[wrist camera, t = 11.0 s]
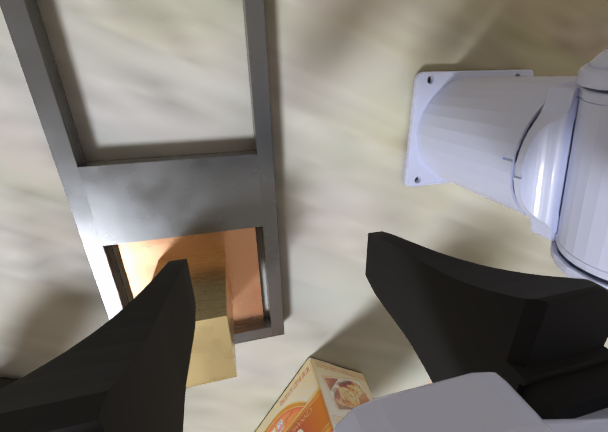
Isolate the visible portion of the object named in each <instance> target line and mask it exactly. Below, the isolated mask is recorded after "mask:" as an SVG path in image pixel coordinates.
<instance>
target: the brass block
mask: <svg viewBox="0 0 608 432" xmlns="http://www.w3.org/2000/svg"><path fill="white" fill-rule="evenodd" d="M180 259H187V262H188V267H189V272H190V277H191V282H192V287H193V292H194V297H195V302H196V321H195V333H194V339H193V346H192V352H191V358H190V364H189V370H188V376H187V382H186V388H188V387H193V386H197V385H201V384H206V383H210V382H215V381H219V380H224V379H228V378H233V377H237V374H236V356H235V338H234V320H233V302H232V295H231V288H230V281H229V274H228V268H227V261H226V254H225V251H219V252H212V253H204V254H197V255H190V256H183V257H176V258H169V259H162V260H158V262H157V265H156V268H155V271H154V274H153V277H152V279H153V278H154V277H155V276H156V275H157V274H158V273H159V272H160V271H161V269H162V268H163V267H164V266H165V265H166V264H167V263H168V262H169V261H173V260H180Z"/></svg>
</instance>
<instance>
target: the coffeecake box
mask: <svg viewBox="0 0 608 432" xmlns="http://www.w3.org/2000/svg"><path fill="white" fill-rule="evenodd" d="M372 399H374V397H373V395H372V393H371V391H370V389H369V387H368V385H367V383H366V381H365V379H364V377H363V374H362V373H359V372H355V371H352V370H348V369H344V368H341V367H337V366H335V365H332V364H330V363H327V362H324V361H320V360H317V359H313V358H308V360H307V361H306V362H305V364H304V365H303V367H302V368H301V369H300V371H299V372H298V374H297V375H296V376H295V378H294V379H293V380H292V382H291V383H290V384H289V386H288V387H287V389H286V390H285V391H284V393H283V394H282V396H281V397H280V398H279V400H278V401H277V403H276V404H275V405H274V407H273V408H272V409H271V411H270V412H269V414H268V415H267V416H266V418H265V419H264V421H263V422H262V423H261V425H260V426H259V427H258V429H257V430H256V432H333V430H334V428H335V426H336V424H337V423H338V422H339V421H340V420H341V419H342V418H343V417H344V416H345V415H347V414H348V413H349V412H350V411H351V410H352V409H353V408H355V407H357V406H359V405H361V404H364V403H366V402H368V401H370V400H372Z"/></svg>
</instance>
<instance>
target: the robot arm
mask: <svg viewBox="0 0 608 432" xmlns="http://www.w3.org/2000/svg"><path fill="white" fill-rule="evenodd" d="M515 75H516V77H514V76H515ZM429 76H430V77H431V80H430V82H429V83H428V82H427V79H428V77H429ZM416 177H418V179H417V181H415V178H416ZM403 181H404V184H405V185H407V186H409V187H413V186H422V185H431V184H441V183H450V182H452V183H454V184H456V185H458V186H461V187H463V188H465V189H468V190H470V191H472V192H474V193H477V194H479V195H481V196H483V197H486V198H488V199H490V200H492V201H495V202H497V203H499V204H501V205H504V206H506V207H508V208H510V209H513V210H515V211H517V212H520V213H522V214H524V215H526V216H528V217H529V219H530V222H531V231H533V232H535V233H537V234H539V235H541V236H543V237H545V238H547V239H549V240H551V241H552V242H551V248H550V250H551V256H552V259H553V261H554V263H555V264H556V265H557V267H558V268H559V269H560V270H561V271H562V272H563V273H564V274H565V275H567V276H568V277H570V278H565V277H552V276H542V275H534V274H526V273H520V272H513V271H507V270H502V269H497V268H492V267H487V266H483V265H479V264H475V263H471V262H468V261H464V260H460V259H457V258H454V257H451V256H448V255H445V254H442V253H439V252H436V251H433V250H431V249H428V248H425V247H423V246H420V245H418V244H415V243H413V242H410V241H408V240H405V239H403V238H400V237H397V236H395V235H392V234H389V233H386V232H382V231H381V232H374V233H368V245H367V260H366V277H367V279H368V281H369V283H370V285H371V287H372V289H373V290H374V292H375V294H376V296H377V297H378V298H379V300H380V301H381V303H382V304H383V306H384V307H385V308H386V310H387V311H388V312H389V314H390V315H391V317H392V318H393V319H394V321H395V322H396V323H397V325H398V326H399V327H400V329H401V330H402V332H403V333H404V334H405V336H406V337H407V339H408V340H409V342H410V343H411V345H412V346H413V348H414V350H415V352H416V353H417V355H418V357H419V359H420V360H421V362H422V364H423V366H424V367H425V369H426V371H427V373H428V375H429V377H430V379H431V380H432V382H433V383H431V384H427V385H424V386H420V387H416V388H412V389H408V390H405V391H401V392H397V393H393V394H389V395H385V396H382V397H378V398H375V399H372V400H370V401H368V402H366V403H364V404H361V405H359V406H357V407H355V408H353V409H352V410H351V411H350V412H349V413H348V414H347V415H345V416H344V417H343V418H342V419H341V420H340V421H339V422H338V423H337V424H336V426H335V428H334V430H333V432H608V349H607V348H606V347H604V344H605V342H606V340H607V338H608V48H607V49H605V50H603V51H602V52H600V53H599V54H598V55H597V56H596V57H594V58H593V59H592V60H591V61H590V62H587V63H586V64H584V65H583V66H582V67H581V68H580V69H579V72H578V76H534V72H533V71H532V70H530V69H526V70H478V71H430V72H419V73H418V74H417V75H416V77H415V80H414V89H413V98H412V107H411V116H410V125H409V134H408V143H407V152H406V161H405V170H404V179H403ZM195 321H196V302H195V297H194V292H193V287H192V282H191V277H190V272H189V267H188V262H187V259H180V260H173V261H169V262H168V263H167V264H166V265H165V266H164V267H163V268H162V269H161V271H160V272H159V273H158V274H157V275H156V276H155V277H154V278H153V279H152V280H151V282H150V283H149V284H148V285H147V286H146V287H145V288H144V289H143V290H142V291H141V292H140V293H139V294H138V295H137V296H136V297H135V298H134V299H133V300H132V301H131V302H130V303H128V304H127V305H126V306H125V307H124V308H123V309H122V310H121V311H120V312H119V313H118V314H116V315H115V316H114V317H113V318H112V319H110V320H109V321H108V322H107V323H105V324H104V325H103V326H101V327H100V328H99V329H98V330H96V331H95V332H94V333H92V334H91V335H89V336H88V337H86V338H85V339H84V340H82V341H81V342H79V343H78V344H76V345H75V346H73V347H72V348H70V349H69V350H67V351H66V352H64V353H63V354H61V355H60V356H58V357H56V358H55V359H53V360H52V361H50V362H48V363H47V364H45V365H43V366H41V367H40V368H38V369H36V370H34V371H33V372H31V373H29V374H28V375H26V376H24V377H22V378H20V379H18V380H17V381H15V382H13V383H11V384H9V385H7V386H5V387H3V388H1V389H0V432H183V419H184V402H185V391H186V382H187V376H188V370H189V364H190V358H191V352H192V346H193V339H194V333H195Z"/></svg>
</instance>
